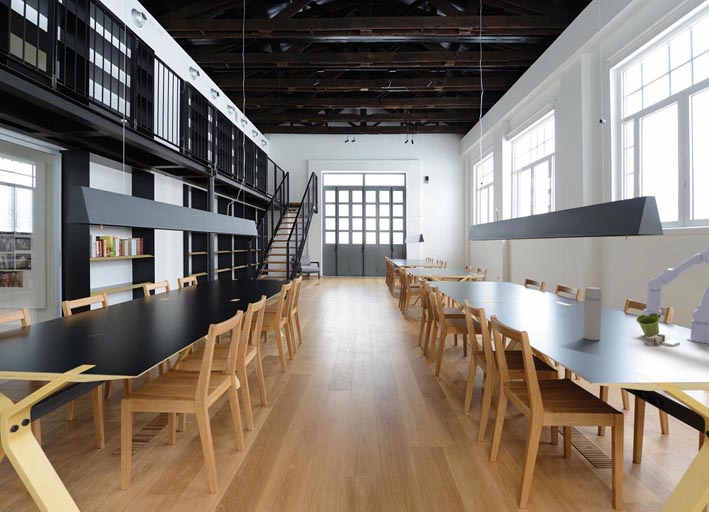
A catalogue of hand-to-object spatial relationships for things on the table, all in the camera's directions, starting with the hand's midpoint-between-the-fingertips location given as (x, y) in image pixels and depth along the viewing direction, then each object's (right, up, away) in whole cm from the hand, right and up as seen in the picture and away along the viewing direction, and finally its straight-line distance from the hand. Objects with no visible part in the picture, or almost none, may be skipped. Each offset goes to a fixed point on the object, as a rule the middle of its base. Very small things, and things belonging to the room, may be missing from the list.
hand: (651, 328), depth 199 cm
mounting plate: (-5, -4, -18) cm, 19 cm away
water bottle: (-36, -4, -8) cm, 37 cm away
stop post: (-12, -4, -19) cm, 23 cm away
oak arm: (-11, -4, -16) cm, 20 cm away
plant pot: (-1, -2, -2) cm, 3 cm away
